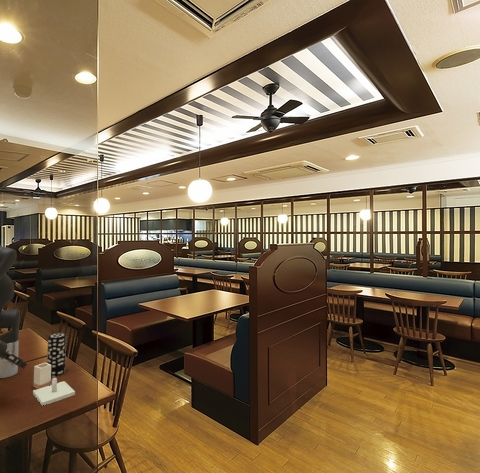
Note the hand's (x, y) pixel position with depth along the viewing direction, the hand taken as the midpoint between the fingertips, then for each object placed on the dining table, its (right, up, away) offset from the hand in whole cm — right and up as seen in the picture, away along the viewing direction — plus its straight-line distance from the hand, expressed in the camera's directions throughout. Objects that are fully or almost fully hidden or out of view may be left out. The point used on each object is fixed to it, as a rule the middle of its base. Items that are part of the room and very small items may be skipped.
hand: (19, 364), depth 135 cm
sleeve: (+4, -14, +9) cm, 18 cm away
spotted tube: (+3, -15, +22) cm, 27 cm away
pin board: (+14, -15, +2) cm, 20 cm away
